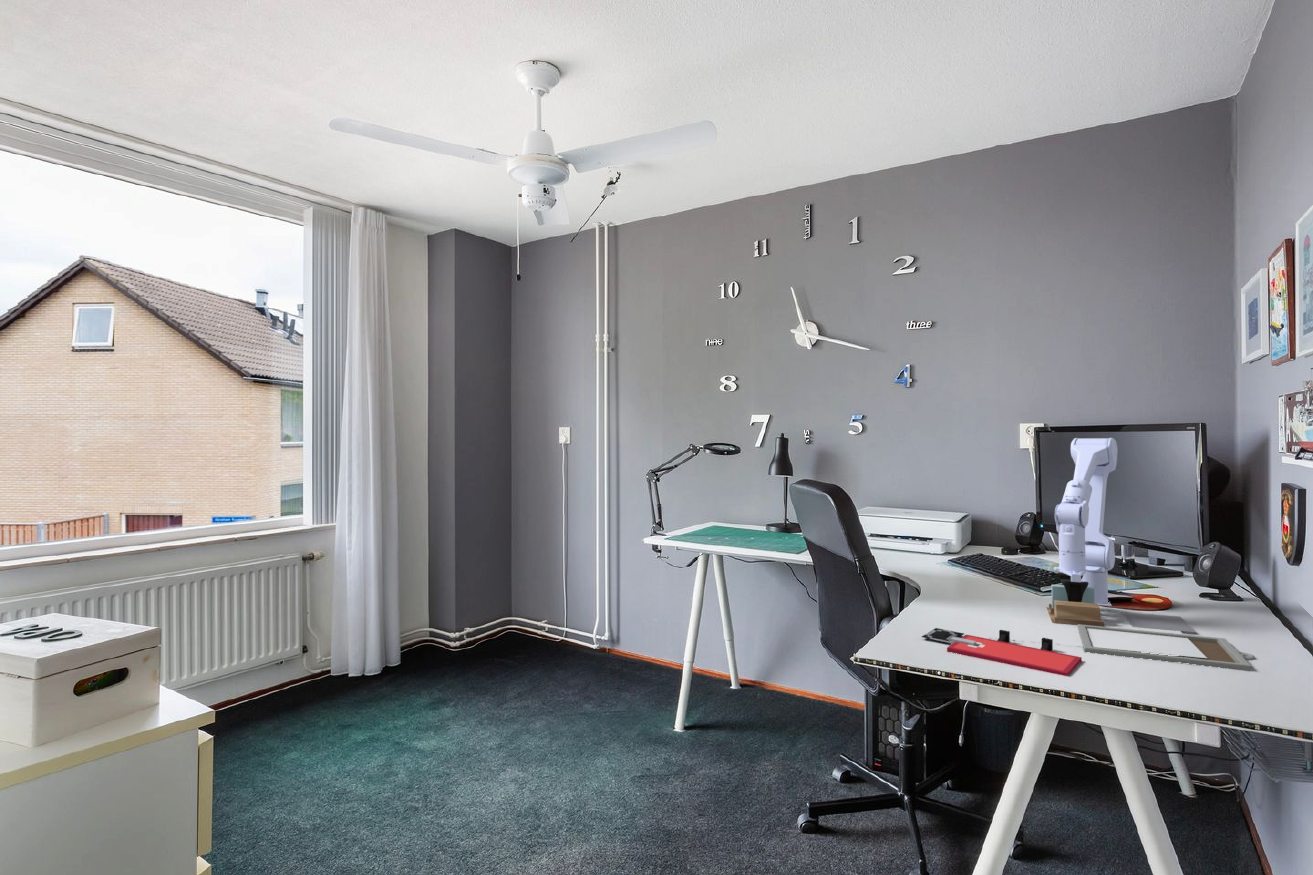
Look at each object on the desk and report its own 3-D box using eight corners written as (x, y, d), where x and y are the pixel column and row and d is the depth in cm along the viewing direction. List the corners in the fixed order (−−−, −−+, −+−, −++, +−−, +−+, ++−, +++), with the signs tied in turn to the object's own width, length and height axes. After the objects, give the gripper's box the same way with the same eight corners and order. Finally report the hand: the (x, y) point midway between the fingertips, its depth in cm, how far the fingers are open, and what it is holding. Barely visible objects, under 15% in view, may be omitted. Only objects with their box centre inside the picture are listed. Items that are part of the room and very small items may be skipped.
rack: (1046, 609, 178) (1046, 602, 178) (1096, 613, 173) (1096, 606, 173) (1052, 624, 164) (1052, 617, 164) (1107, 629, 159) (1107, 622, 159)
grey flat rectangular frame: (1077, 623, 161) (1241, 639, 147) (1077, 630, 161) (1241, 647, 147) (1084, 647, 144) (1270, 667, 130) (1084, 655, 144) (1270, 676, 130)
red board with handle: (938, 629, 162) (912, 646, 151) (938, 618, 162) (912, 633, 151) (1085, 659, 141) (1067, 680, 131) (1085, 645, 141) (1067, 665, 130)
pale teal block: (1051, 609, 175) (1051, 584, 175) (1093, 613, 171) (1092, 587, 171) (1052, 611, 173) (1052, 586, 173) (1094, 615, 170) (1094, 589, 169)
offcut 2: (1055, 619, 167) (1055, 602, 167) (1099, 622, 163) (1098, 605, 163) (1056, 621, 165) (1056, 604, 165) (1100, 624, 161) (1100, 608, 161)
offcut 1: (1054, 616, 169) (1054, 600, 169) (1097, 620, 165) (1097, 603, 165) (1055, 618, 167) (1055, 602, 167) (1098, 622, 164) (1098, 605, 164)
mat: (1121, 613, 172) (1121, 611, 172) (1180, 618, 167) (1180, 616, 167) (1132, 628, 160) (1132, 626, 160) (1196, 634, 154) (1196, 632, 154)
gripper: (1050, 545, 180) (1051, 597, 181) (1056, 554, 167) (1057, 610, 167) (1082, 546, 177) (1082, 599, 178) (1090, 556, 164) (1091, 613, 164)
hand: (1072, 605), depth 172 cm, fingers open, 7 cm apart
